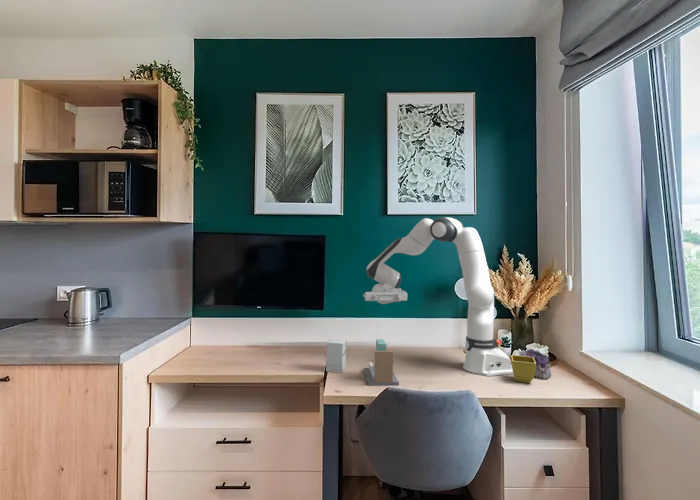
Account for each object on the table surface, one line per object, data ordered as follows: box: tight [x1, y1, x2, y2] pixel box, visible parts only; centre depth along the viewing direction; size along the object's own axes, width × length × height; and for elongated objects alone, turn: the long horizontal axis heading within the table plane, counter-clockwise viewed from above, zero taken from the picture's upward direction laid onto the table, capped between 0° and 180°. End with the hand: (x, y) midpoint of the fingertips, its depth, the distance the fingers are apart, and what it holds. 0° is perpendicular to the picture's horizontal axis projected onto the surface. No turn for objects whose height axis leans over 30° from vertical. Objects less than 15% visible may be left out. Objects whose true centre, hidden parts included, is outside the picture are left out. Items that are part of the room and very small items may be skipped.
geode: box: [518, 348, 552, 381], centre depth 170 cm, size 20×12×10 cm, turn 175°
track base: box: [363, 350, 400, 387], centre depth 161 cm, size 12×18×13 cm, turn 4°
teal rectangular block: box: [375, 338, 387, 351], centre depth 160 cm, size 3×8×14 cm, turn 4°
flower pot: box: [510, 354, 536, 384], centre depth 159 cm, size 9×9×9 cm
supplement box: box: [325, 338, 347, 373], centre depth 170 cm, size 7×7×13 cm
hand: (388, 298), depth 177 cm, fingers open, 8 cm apart
